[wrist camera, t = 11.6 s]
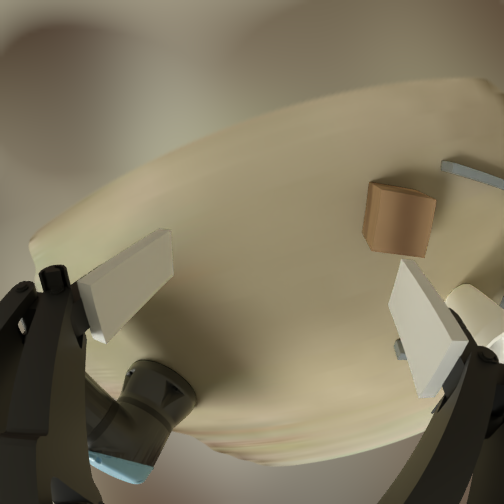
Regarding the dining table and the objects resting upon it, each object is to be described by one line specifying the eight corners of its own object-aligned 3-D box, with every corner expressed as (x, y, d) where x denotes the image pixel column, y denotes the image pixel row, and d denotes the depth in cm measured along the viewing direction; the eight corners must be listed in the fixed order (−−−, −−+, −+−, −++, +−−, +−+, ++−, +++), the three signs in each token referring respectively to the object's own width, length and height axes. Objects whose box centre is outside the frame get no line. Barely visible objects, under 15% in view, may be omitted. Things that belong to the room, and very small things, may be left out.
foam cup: (490, 304, 29) (529, 356, 17) (446, 339, 33) (474, 400, 21) (473, 260, 28) (524, 310, 16) (424, 301, 31) (458, 365, 20)
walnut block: (361, 232, 30) (371, 250, 25) (369, 181, 28) (381, 189, 23) (407, 238, 29) (424, 257, 24) (416, 190, 27) (436, 200, 21)
